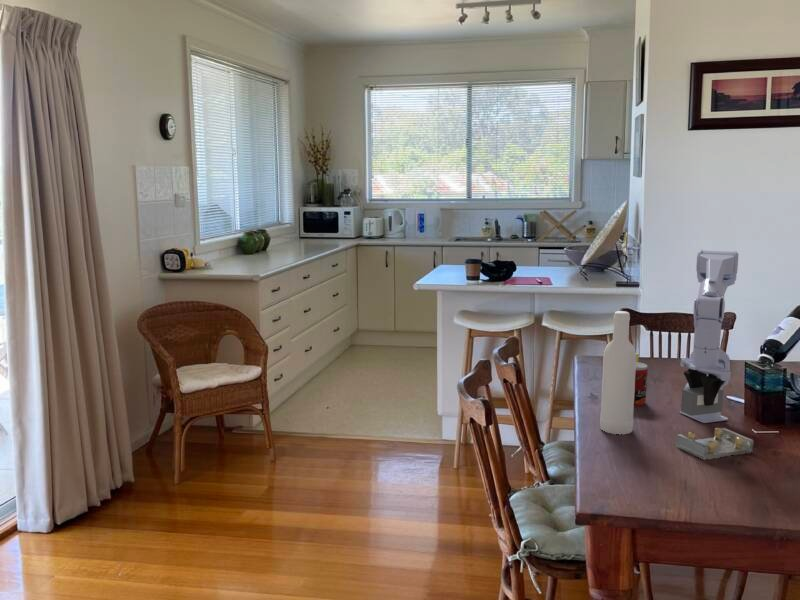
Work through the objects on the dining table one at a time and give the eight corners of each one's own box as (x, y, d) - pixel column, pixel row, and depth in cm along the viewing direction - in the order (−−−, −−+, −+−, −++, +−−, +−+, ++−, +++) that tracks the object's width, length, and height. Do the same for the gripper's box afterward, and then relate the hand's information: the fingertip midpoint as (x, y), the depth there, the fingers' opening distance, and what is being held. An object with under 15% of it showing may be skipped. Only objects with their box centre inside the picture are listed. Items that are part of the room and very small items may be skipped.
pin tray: (676, 446, 178) (677, 432, 178) (723, 439, 183) (724, 425, 182) (703, 460, 170) (704, 445, 169) (752, 452, 175) (753, 438, 174)
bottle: (612, 436, 185) (618, 316, 180) (593, 426, 192) (598, 310, 187) (639, 432, 188) (646, 313, 183) (619, 423, 195) (625, 308, 190)
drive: (680, 411, 181) (682, 389, 180) (711, 407, 184) (712, 385, 183) (691, 415, 178) (692, 393, 177) (721, 411, 181) (723, 389, 180)
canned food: (640, 408, 207) (642, 369, 206) (612, 403, 212) (613, 365, 210) (649, 401, 213) (652, 363, 212) (622, 396, 218) (624, 359, 216)
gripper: (671, 341, 184) (668, 395, 186) (715, 354, 171) (710, 413, 173) (695, 339, 186) (691, 393, 189) (739, 352, 173) (735, 410, 175)
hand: (702, 402), depth 181 cm, fingers closed on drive, 4 cm apart
